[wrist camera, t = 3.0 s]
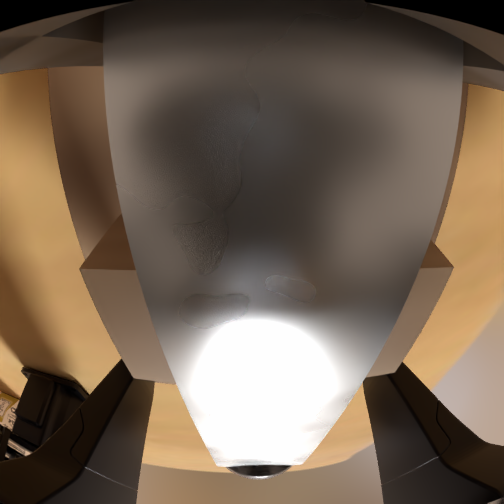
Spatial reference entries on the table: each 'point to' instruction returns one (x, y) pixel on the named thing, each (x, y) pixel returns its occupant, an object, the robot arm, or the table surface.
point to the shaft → (276, 199)
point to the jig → (102, 173)
